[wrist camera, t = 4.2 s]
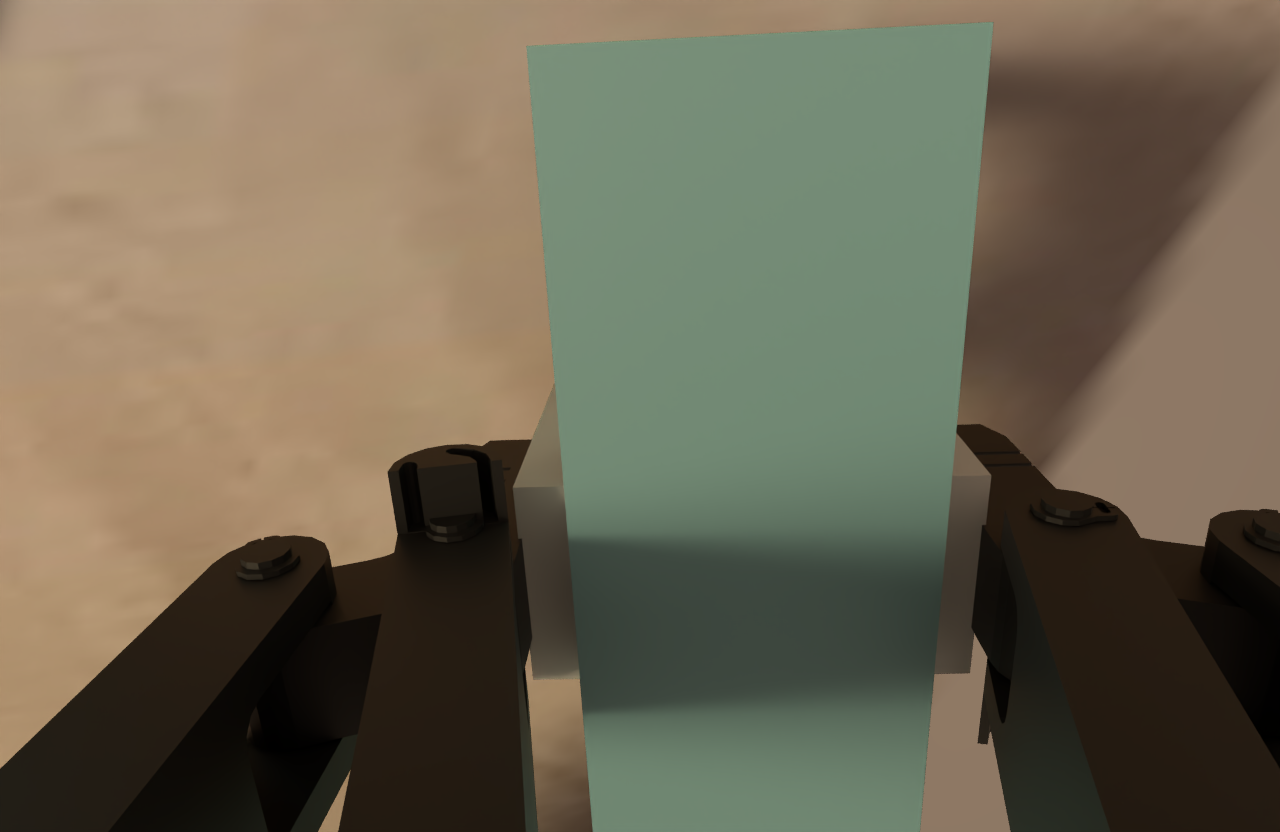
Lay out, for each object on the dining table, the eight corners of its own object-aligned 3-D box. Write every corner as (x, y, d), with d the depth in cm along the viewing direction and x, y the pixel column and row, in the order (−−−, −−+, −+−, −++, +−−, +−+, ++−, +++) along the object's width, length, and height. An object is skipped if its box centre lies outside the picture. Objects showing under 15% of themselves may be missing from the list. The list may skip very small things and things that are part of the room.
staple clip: (800, 594, 21) (904, 1003, 12) (636, 597, 21) (607, 1001, 12) (813, 59, 17) (993, 21, 7) (607, 70, 17) (526, 46, 8)
